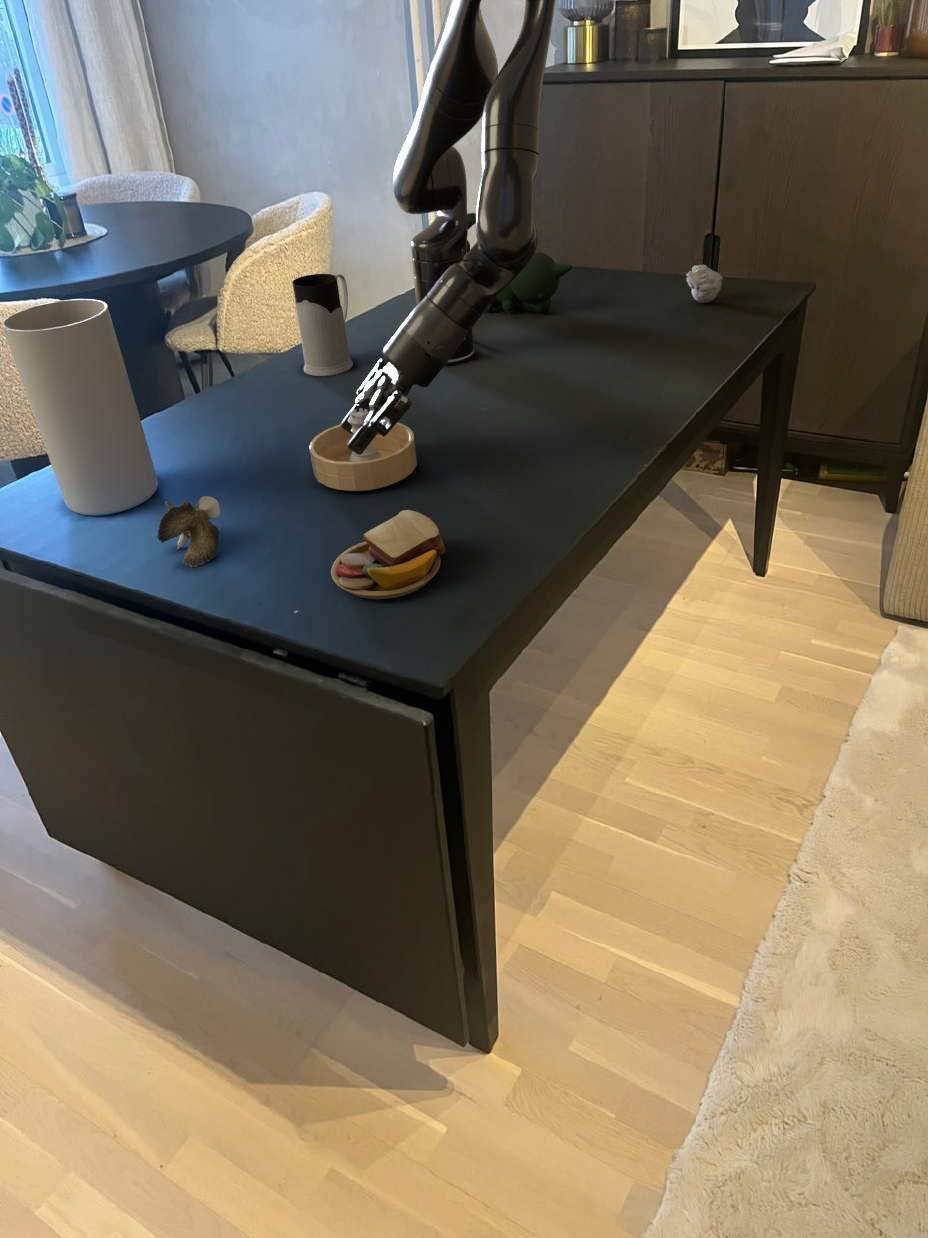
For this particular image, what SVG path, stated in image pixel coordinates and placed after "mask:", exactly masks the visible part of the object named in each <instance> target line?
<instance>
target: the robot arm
mask: <svg viewBox="0 0 928 1238" xmlns="http://www.w3.org/2000/svg"><path fill="white" fill-rule="evenodd" d="M481 3H482V0H448V3H447V7H446V12H445V15H444V19H443V21H442V25H441V28H440V30H439V31H440V32H439V34H438V37H437V41H436V44H435V46H434V50H433V52H432V55H431V58H430V61H429V65H428V68H427V71H426V76H425V79H424V82H423V88H422V90H421V95H420V99H419V102H418V104H417V109H416V112H415V114H414V117H413V120H412V123H411V125H410V128H409V130H408V132H407V135H406V137H405V139H404V141H403V144H402V146H401V148H400V151H399V153H398V155H397V158H396V161H395V165H394V169H393V176H392V189H393V195H394V199H395V201H396V204H397V206H398V207H399V208H400V210H402V211H403V212H404V213H407V214H409V215H424V214H430V213H436V217H435V218H434V220H433V221H432V222H431V223H430V224H429V225H428V226H427V227H426V228H425V229H423V230H421V231H420V232H419V233H417V234H415V236H413V237H412V239H411V241H410V254H411V263H412V273H413V281H414V291H415V303H416V306H415V307H414V308H413V309H412V311H411V312H410V313H409V315H408V316H407V317H406V318H405V320H404V321H403V322H402V323H401V325H400V326H399V327H398V329H397V330H396V332H395V333H394V334H393V336H391V338H390V339H389V340H388V342H387V343H386V344H385V345H384V347H383V349H382V354H383V357H384V358H385V359H386V360H387V361H388V362H387V361H385V360H384V359H383V358H380V359H379V360H378V361H377V363H376V364H375V365H374V367H373V368H372V369H371V371H370V372H369V374H368V375H367V377H366V378H365V379H364V381H363V382H362V384H361V385H360V386H359V388H358V389H356V393H355V394H356V395H357V397H356V398H355V401H354V402H355V404H354V405H353V407H352V408H351V409H350V410H349V411H348V413H347V414H346V415H345V417H344V418H343V419H342V420H341V422H340V424H341V426H342V428H343V429H345V430H346V431H348V432H349V433H351V434H353V433H352V432H351V429H352V425H351V424H350V423H349V422H348V419H349V417H350V412H352V413H353V410H355V409H356V411H357V412H359V409H363V412H364V410H365V409H367V410H368V413H369V414H368V416H367V418H366V420H365V421H364V424H362V425H361V427H360V428H359V429H358V430H357V432H356V433H355V434H354V436H353V437H352V438H351V439H350V441H349V442H348V448H349V449H350V450H352V451H353V452H355V453H356V454H358V455H361V454H362V453H363V452H364V450H365V449H366V448H367V447H368V445H369V444H370V443H371V441H372V440H373V439H374V438H375V436H376V435H377V434H378V435H382V436H383V437H385V436H386V435H387V434H388V433H389V431H390V430H391V429H392V428H393V427H394V426H395V424H396V423H397V422H398V423H399V421H400V420H401V418H402V417H403V416H404V415H405V414H406V413H407V411H408V410H409V409H410V407H411V406H412V404H413V401H412V400H411V399H409V398H408V396H409V393H410V392H411V389H412V387H413V386H414V385H418V387H420V388H428V387H429V386H430V384H431V383H432V382H433V381H434V380H435V378H436V377H437V376H438V375H439V373H440V372H441V371H442V370H443V368H444V367H445V365H453V364H458V363H463V362H466V361H468V360H470V359H472V358H473V357H474V356H475V347H474V335H473V327H474V326H475V325H476V323H477V322H478V321H479V319H480V318H481V317H482V316H483V314H484V313H485V312H486V311H485V310H486V309H487V307H488V306H489V304H490V303H491V302H492V300H493V299H494V298H495V297H496V296H497V295H498V294H499V293H500V292H501V291H502V290H503V289H505V287H506V286H507V285H508V284H509V283H510V282H511V281H512V280H513V279H514V278H515V277H516V276H517V275H518V274H519V273H520V272H521V271H522V270H523V269H524V267H525V266H526V265H527V264H528V262H529V261H530V259H531V258H532V256H533V255H534V253H535V251H536V250H537V248H538V243H539V233H538V229H537V226H536V224H535V222H534V219H533V202H534V201H533V200H534V181H535V180H536V177H537V173H538V167H539V154H540V153H539V152H540V129H541V128H540V127H541V122H540V121H541V120H540V119H541V106H542V105H541V104H542V96H543V95H542V94H543V84H544V78H545V72H546V66H547V59H548V54H549V46H550V40H551V34H552V29H553V21H554V15H555V6H556V0H524V3H525V4H524V15H523V20H522V25H521V28H520V32H519V35H518V37H517V40H516V41H515V44H514V45H513V48H512V50H511V52H510V53H509V54H508V57H507V58H506V60H505V62H504V64H503V65H502V67H501V69H500V70H499V64H498V63H499V62H498V58H497V54H496V50H495V47H494V44H493V42H492V39H491V36H490V34H489V32H488V29H487V27H486V24H485V21H484V19H483V14H482V9H481ZM480 120H481V122H482V123H481V178H480V184H479V189H478V198H477V205H476V224H475V235H476V242H475V243H474V245H473V246H472V247H470V251H469V252H468V253H467V245H466V244H467V240H468V236H469V235H468V234H469V229H468V225H467V214H468V188H467V187H468V186H467V184H468V183H467V174H466V166H465V162H464V159H463V157H462V155H461V152H460V151H459V150H458V149H457V148H456V147H455V145H456V144H457V143H458V142H459V141H461V139H463V138H464V137H465V136H466V135H467V134H468V133H469V132H471V130H473V128H474V127H476V125H477V124H478V122H479V121H480ZM536 252H537V251H536ZM380 420H381V422H379V421H380ZM388 421H389V422H388ZM387 422H388V423H387ZM386 424H387V425H386Z"/></svg>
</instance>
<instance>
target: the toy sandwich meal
mask: <svg viewBox="0 0 928 1238" xmlns="http://www.w3.org/2000/svg"><path fill="white" fill-rule="evenodd" d="M363 538H364V541H363V542H360V543H357V544H355V545H353V546H351V547H349V548H347V549H346V550H345V551H343V552H342V553H341V554H339V555H338V556H337V558H336V559H335V560H334V562H333V563H332V566H331V570H330V575H331V578H332V580H333V582H334V583H335V584H336V586H338V587H339V588H340V589H342V590H343V591H345V592H348V593H349V594H351V595H353V596H356V597H359V598H363V599H369V600H390V599H396V598H400V597H403V596H406V595H409V594H412V593H414V592H416V591H418V590H420V589H421V588H423V587H424V586H425V585H426V584H428V583H429V581H431V580H432V579H433V578H434V577H435V575H436V574H437V573H438V571H439V569H440V567H441V556H440V555H443V554H444V553H445V552H446V547H445V543H444V540H443V538H442V537H441V532H440V528H439V527H438V526H437V524H436V523H435V522H434V521H433V520H432V519H431V518H429V516H427V515H425V514H423V513H421V512H418V511H415V510H411V509H403V510H401V511H399V512H398V513H397V515H395V516H393V517H391V518H390V519H388V520H386V521H384V522H382V523H380V524H379V525H377V526H375V527H374V528H371V529H370V530H368V531H366V532H365V533H364V534H363Z"/></svg>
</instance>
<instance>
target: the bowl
mask: <svg viewBox="0 0 928 1238" xmlns="http://www.w3.org/2000/svg"><path fill="white" fill-rule="evenodd" d="M381 420H382V419H381ZM381 420H380V421H379V422H381ZM389 421H390V420H389ZM389 421H388V422H389ZM388 422H387V423H388ZM386 425H387V424H386ZM352 437H353V434H351V433H349V432H348V431H346V430H345V429H343V428H342V426H341V423H340V424H337V425H335V426H332V427H330V428H327V429H325V430H323V431H322V432H320V433H318V434H317V435H316V436H314V438H313V439H312V440H311V442H310V443H309V456H310V460H311V466H312V472H313V476H314V478H315V479H316V480H317V482H318V483H320V484H322V485H323V486H325V487H327V488H330V489H333V490H338V491H346V492H347V491H348V492H365V491H374V490H379V489H382V488H385V487H388V486H391V485H394V484H395V483H398V482H400V481H403V480H404V479H406V478H407V477H408V476H409V475H411V474H412V473H413V472H414V470H415V469H416V468H417V465H418V460H417V450H416V442H415V433H414V431H413V430H412V429H411V428H410V427H409V426H407V425H405V424H403V423H400V422H399V421H398V422H397V423H396V424H395V426H394V427H393V428H392V429H391V430H390V431H389V433H388V434H387V435H386V436H385V437H383V436H382V435H378V434H377V435H376V436H375V438H374V439H373V443H374V446H375V447H376V448H377V450H378V451H379V452H380V455H381V458H378V459H374V460H370V461H360V462H351V461H350V456H351V454H352V450H350V449H349V448H348V442H349V441H350V439H351V438H352Z"/></svg>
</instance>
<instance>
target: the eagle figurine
mask: <svg viewBox="0 0 928 1238" xmlns="http://www.w3.org/2000/svg"><path fill="white" fill-rule="evenodd" d="M164 504H165V505H166V507H168V508H169V509H168V510H167V511H166V513H164V515H163V516H162V518H161V519H160V521H159V524H158V529H157V535H156V538H157V539H158V541H159V542H161V544H163V543H166V542H167V541H170V540H171V539H175V538H177V537H179V538H178V540H177V547H176V549H177V550H180V549H181V548H182V547H184V546H185V545H186V543H187V542H188V540H189V544H188V547H187V550H186V552H185V555H184V557H183V559H182V564H185V567H186V566H188V567H190V568H198V567H199V566H203V565H205V564H206V562H208V563H209V562H210V561H211V560H212V559H214V558H215V557H216V555H217V554H218V553H219V552H218V550H219V543H220V542H219V538H220V531H219V528H218V527H217V526H216V525H214V524H213V523H212V522H211V521H210V520H217V519H219V517H220V516H221V508H220V507H221V506H220V504H219V501H218V500H217V499H216V498H214V497H213V496H207V495H205V496H201V497H199V501H198V502H197V503H196V505H195V506H193V504H192V503H191V502H189V501H187V502H186V501H181V505H179V506H175V505H173V504H172V503H171V502H169V501H167V500H165V501H164Z"/></svg>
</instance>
